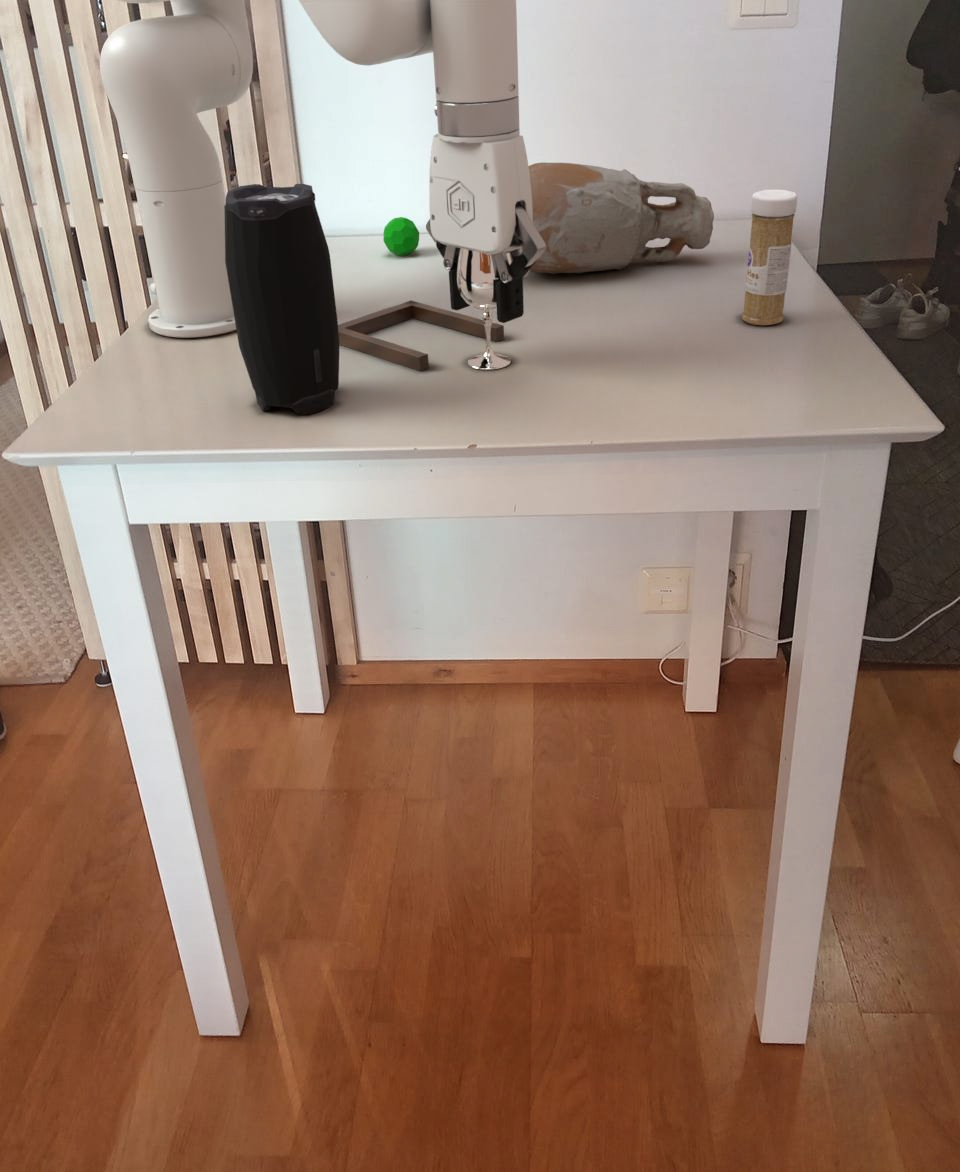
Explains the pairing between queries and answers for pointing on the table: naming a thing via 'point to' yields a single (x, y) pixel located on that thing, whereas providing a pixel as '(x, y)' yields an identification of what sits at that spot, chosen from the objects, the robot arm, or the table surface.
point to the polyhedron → (401, 236)
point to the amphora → (611, 218)
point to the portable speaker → (282, 296)
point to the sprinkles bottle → (769, 256)
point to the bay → (357, 328)
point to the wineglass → (481, 298)
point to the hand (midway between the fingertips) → (486, 311)
